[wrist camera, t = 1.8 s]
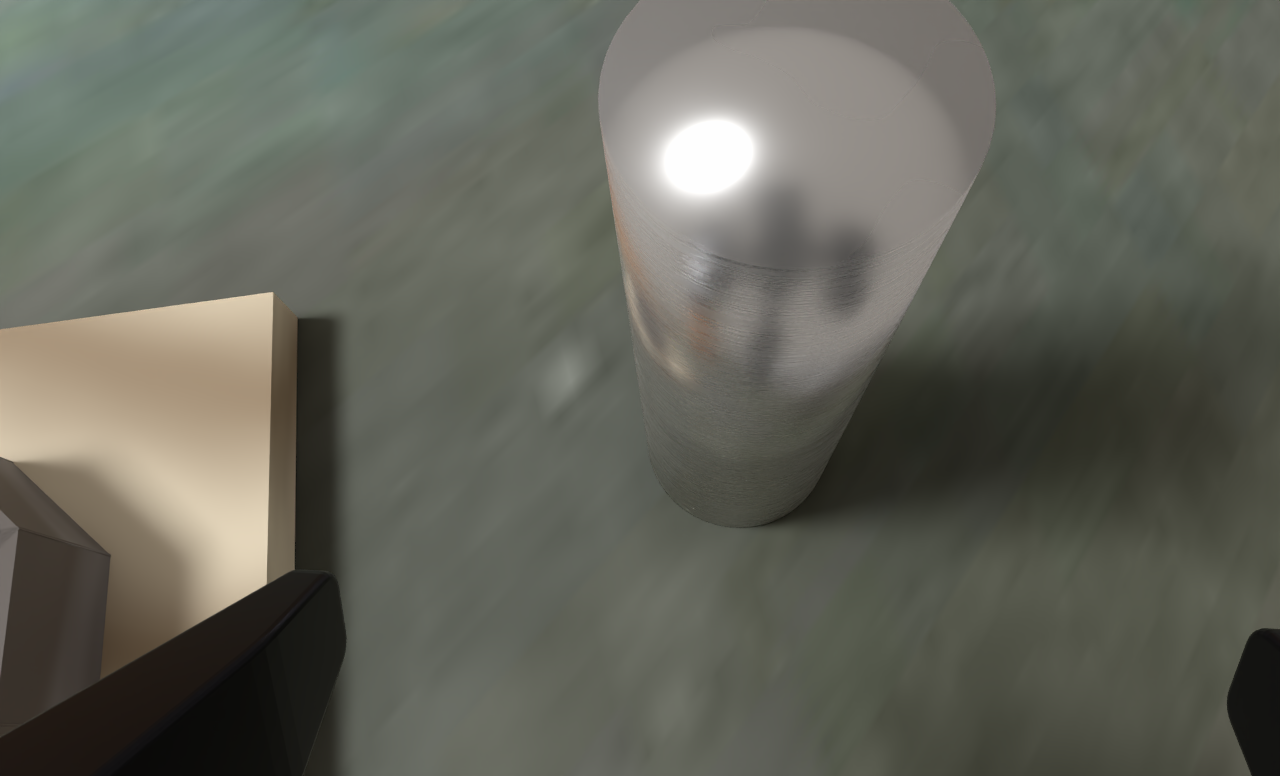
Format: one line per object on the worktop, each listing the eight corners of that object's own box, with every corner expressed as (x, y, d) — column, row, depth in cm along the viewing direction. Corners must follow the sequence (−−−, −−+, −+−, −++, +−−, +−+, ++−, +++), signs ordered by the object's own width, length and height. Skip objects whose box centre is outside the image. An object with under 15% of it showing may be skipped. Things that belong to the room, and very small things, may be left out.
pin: (843, 514, 21) (1045, 233, 9) (660, 539, 21) (622, 291, 9) (808, 346, 23) (941, -83, 11) (637, 369, 23) (579, -33, 11)
